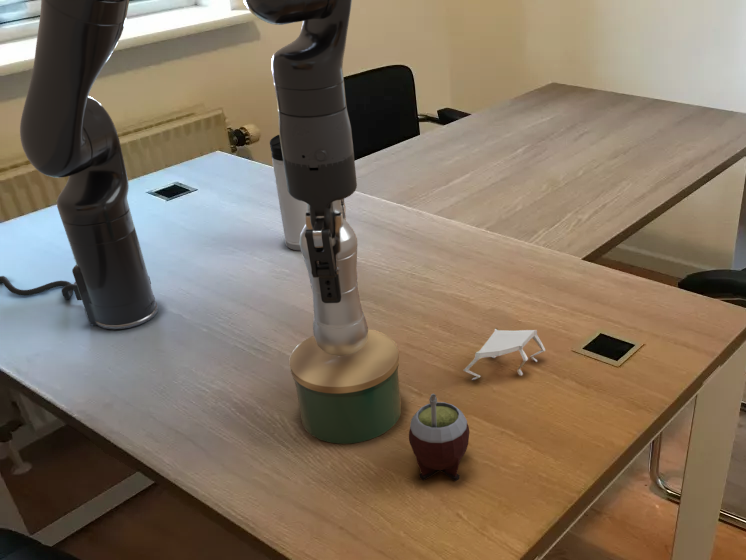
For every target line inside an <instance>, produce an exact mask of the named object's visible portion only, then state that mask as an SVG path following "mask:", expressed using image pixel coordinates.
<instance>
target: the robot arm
mask: <svg viewBox="0 0 746 560" xmlns="http://www.w3.org/2000/svg"><path fill="white" fill-rule="evenodd" d="M242 2H243V4H244V5H245V6H246V8H247V9H248V11H249V12H250V13H251V14H252V15H253V16H254V17H256V18H258V20H259V19H260V20H261V21H263V22H265V23H267V24H270V25H275V26H283V25H288V24H294V23H300V22H302V25H301V29H300V32H299V35H298V37H297V38H296V39H295V40H293V41H292V42H290V43H288V44H286V45H285V46H282V47H281V48H279V49H278V50H276V52H275V53H273V55H272V58H271V73H272V79H273V86H274V93H275V100H276V106H277V112H278V135H279V136H280V143H281V149H282V156H283V162H284V169H285V175H286V182H287V188H288V192H289V194H290V195H291V196H292V197H293V198H295V199H297V200H299V201H303V202H306V203H307V204H309V205H310V212H306V226H307V227H308V229H306V233H305V238H306V241H307V247H308V252H309V258H310V263H311V269H312V271H311V272H312V275H313V278H319V285H320V292H321V299H322V302H324V303H339V302H340V301H341V288H340V280H339V267H338V254H339V253H340V252H341V250H342V247H341V228H342V227H343V218H344V219H345V220H346V221H347V215H346V211H347V208H346V204H345V203H346V202H345V199H347V198H349V197H350V196H352V195H353V194H354V193H355V192H356V190H357V188H358V183H357V182H358V181H357V172H356V162H355V152H354V143H353V132H352V125H351V121H350V115H349V112H348V107H347V98H346V89H345V79H344V68H343V64H344V58H345V50H346V46H347V45H346V44H347V36H348V30H349V24H350V17H351V10H352V2H353V0H242ZM129 5H130V0H41V2H40V14H39V23H38V29H37V37H36V43H35V51H34V52H35V53H34V60H33V67H32V73H31V77H30V81H29V85H28V89H27V93H26V96H25V100H24V104H23V109H22V112H21V117H20V124H19V137H20V144H21V147H22V150H23V152H24V154H25V158H27V161H29V163H30V164H31V165H32V166H33V167H34V168H35V170H37V171H38V172H39V173H41V174H43V175H45V176H46V177H50V178H54V179H55V178H58V179H59V178H60V179H62V178H67V177H68V178H67V181H66V183H65V185H64V187H63V188H62V190H61V191H60V193H59V194H58V195H57V198H56V207H57V211H58V214H59V218H60V220H61V223H62V227H63V229H64V232H65V235H66V238H67V241H68V244H69V246H70V250H71V253H72V256H73V259H74V262H75V265H74V266H73V268H72V271H71V273H72V275H73V277H74V278H73V279H74V282H73V283H72V282H69V281H67V280H56V281H52V282H48V283H45V284H43V285H41V286H37V287H34V288H30V289H29V288H28V289H19V288H17V287H15V286H14V285H13V284H12V283H11V282H10V280H9V279H8V278H7V276H5V275H0V284H3V286H4V287H5V288H6V289H7V290H8V291H9V292H10V293H12V294H14V295H17V296H20V297H21V296H22V297H26V296H27V297H28V296H34V295H37V294H41V293H43V292H47V291H50V290H52V289H56V288H59V287H62V289H61V294H62V296H63V298H64V299H65V300H70V299H71V297H72V295H73V293H74V295H75V298H76V300H77V301H81V303H82V305H83V308H84V311H85V314H86V317H87V320H88V323H89V326H98V327H100V328H102V329H106V330H125V329H130V328H134V327H138V326H140V325H142V324H145V323H146V322H148V321H150V320H151V319H153V318H154V317H155V316H156V315H157V314H158V311H159V308H158V307H159V306H158V303H157V301H156V298H155V295H154V291H153V288H152V282H151V278H150V276H149V274H148V270H147V266H146V262H145V259H144V255H143V251H142V248H141V244H140V240H139V236H138V234H137V231H136V227H135V222H134V220H133V215H132V213H131V208H130V204H129V201H128V194H129V189H130V188H129V187H130V185H129V184H130V183H129V177H128V174H127V169H126V165H125V159H124V155H123V149H122V145H121V142H120V136H119V133H118V131H117V127H116V126H115V124H114V121H113V119H112V117H111V115H110V114H109V112H108V111H107V110H106V108H105V107H104V106H103V105H102V104H101V103H100V102H99V101H97V100H96V99H94V98H93V97H91V96H89V95H90V92H91V90H92V88H93V86H94V84H95V82H96V80H97V78H98V76H99V75H100V73H101V72H102V71H103V69H104V67H105V65H106V64H107V62H108V60H109V59H110V57H111V56H112V53H113V52H114V51H115V49H116V47H117V45H118V43H119V41H120V39H121V36H122V35H123V31H124V28H125V25H126V21H127V15H128V10H129ZM336 200H341V206H342V209H343V212H333V204H332V202H333V201H336ZM334 237H335V239H336V243H335V245H334V246H332V239H333V238H334ZM321 261H328V262H329V264H321Z"/></svg>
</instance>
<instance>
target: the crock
mask: <svg viewBox="0 0 746 560" xmlns="http://www.w3.org/2000/svg"><path fill="white" fill-rule="evenodd" d="M399 351H400V350H399V347H398V344H397V343H396V342H395V341H394V339H393V338H391V337H390V336H389V335H387V334H384V333H383V332H381V331H378V330H375V329H371V328H368V337H367V342H366V343H365V345H364V346H363V348H362V349H361V350H359V351H358V352H356V353H353V354H350V355H344V356H335V355H330V354H327V353H325V352H324V351H323V350H322V349H321V348H320V347H319V346H318V345H317V343H316V340H315V337H314V335H311V336H309V337H307V338H306V339H304V340H303V341H301V342H300V343H299V344H297V346H296V347H294V349H293V350H292V352H291V354H290V356H289V360H288V363H289V369H290V372H291V373H290V374H291V376H292V379H293V380H294V384H295V390H296V395H297V401H298V407H299V413H300V418H301V423H302V426H303V428H304V429H305V430H306V432H307V433H308V434H310V435H311V436H312V437H314V438H316V439H318V440H320V441H324V442H327V443H331V444H332V443H333V444H342V445H343V444H344V445H345V444H347V445H348V444H357V443H362V442H366V441H369V440H372V439H376V438H377V437H380V436H381V435H384V434H385V433H387V432H388V431H389V430H391V429H392V428H393V427H394V426H395V425H396V424H397V422H398V420H399V419H400V416H401V414H402V400H401V391H400V389H401V388H400V380H399V379H400V378H399V377H400V376H399V365H400V352H399Z"/></svg>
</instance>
